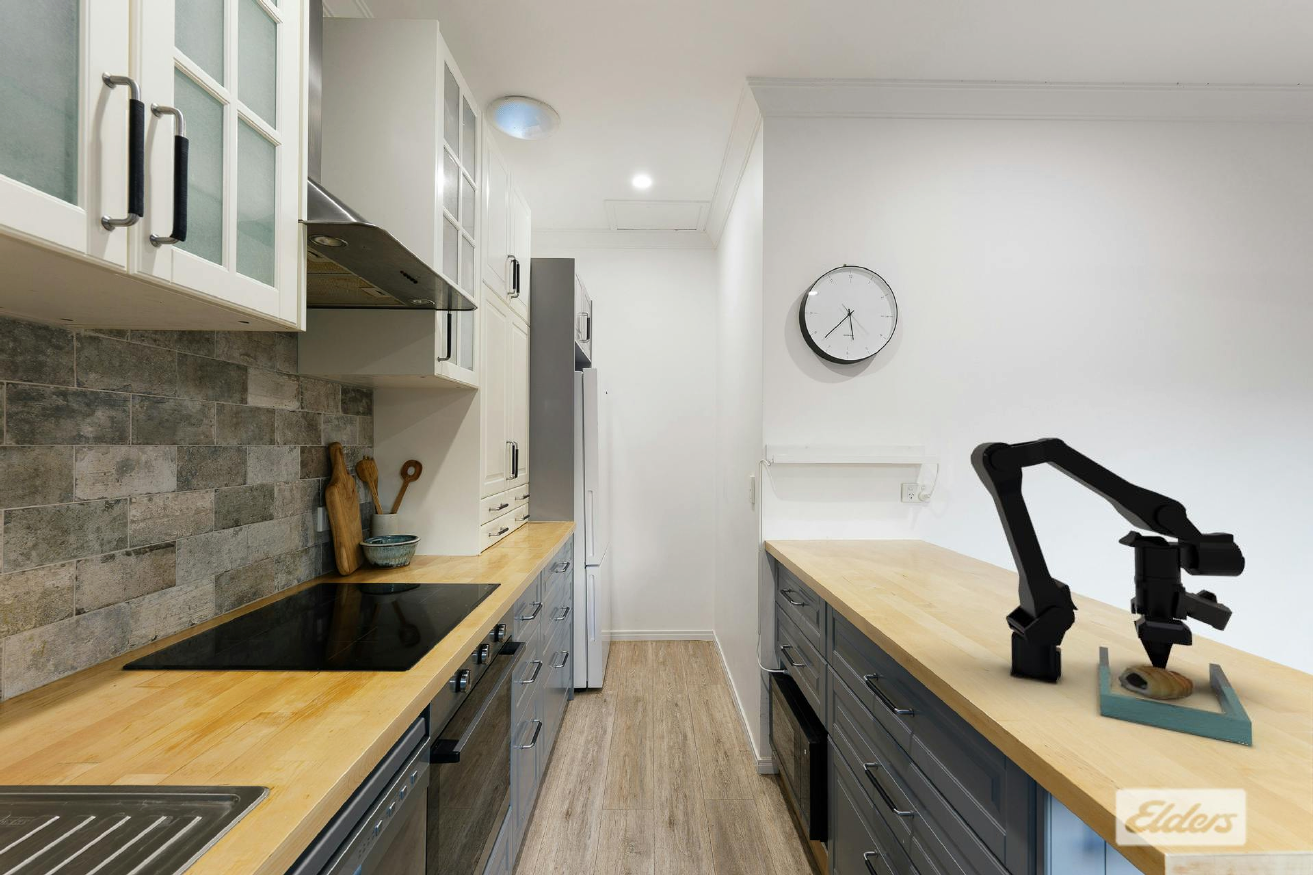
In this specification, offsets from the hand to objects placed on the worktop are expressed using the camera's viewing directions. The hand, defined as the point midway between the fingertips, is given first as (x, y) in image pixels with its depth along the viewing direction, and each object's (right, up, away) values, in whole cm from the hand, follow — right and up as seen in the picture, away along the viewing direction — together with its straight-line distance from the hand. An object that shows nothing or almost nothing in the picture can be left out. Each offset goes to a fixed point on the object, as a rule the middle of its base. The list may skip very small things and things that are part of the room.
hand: (1159, 671), depth 97 cm
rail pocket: (-5, -2, -6) cm, 8 cm away
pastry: (-3, -2, -3) cm, 5 cm away
